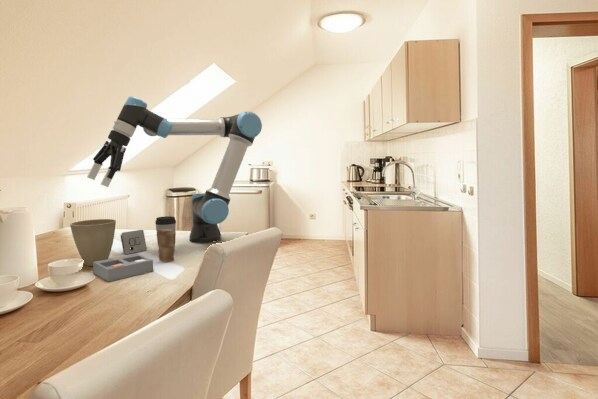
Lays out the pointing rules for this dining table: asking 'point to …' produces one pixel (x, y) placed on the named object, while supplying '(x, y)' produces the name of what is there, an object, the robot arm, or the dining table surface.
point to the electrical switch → (133, 241)
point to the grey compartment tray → (122, 267)
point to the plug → (165, 245)
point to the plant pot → (93, 239)
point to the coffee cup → (166, 226)
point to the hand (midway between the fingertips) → (97, 182)
